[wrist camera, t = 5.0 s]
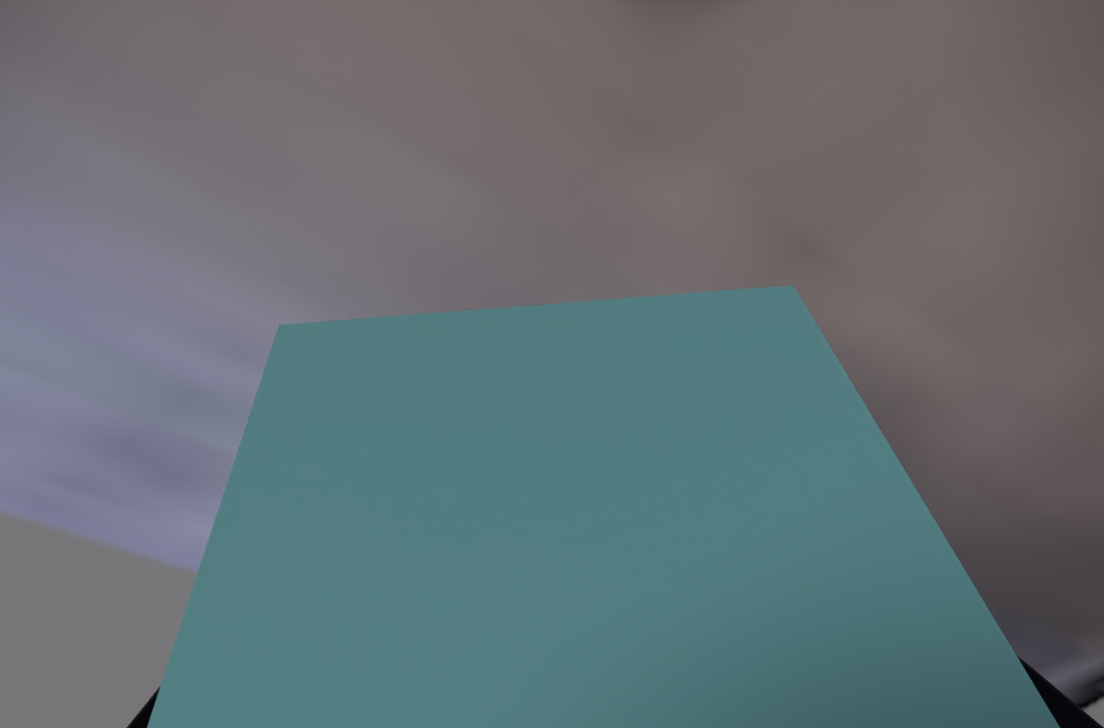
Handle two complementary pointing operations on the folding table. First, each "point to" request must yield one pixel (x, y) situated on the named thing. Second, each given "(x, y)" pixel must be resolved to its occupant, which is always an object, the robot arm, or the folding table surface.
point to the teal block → (580, 535)
